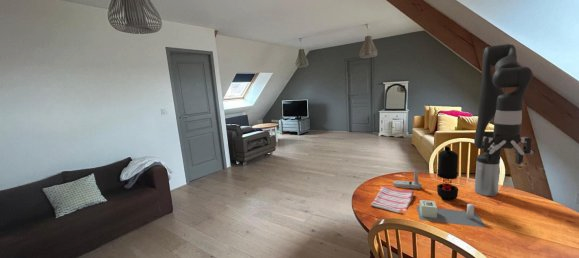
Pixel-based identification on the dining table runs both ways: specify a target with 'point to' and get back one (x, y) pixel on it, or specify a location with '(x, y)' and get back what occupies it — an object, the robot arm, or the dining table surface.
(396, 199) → the dish towel
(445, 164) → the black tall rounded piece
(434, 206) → the collar
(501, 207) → the dining table surface
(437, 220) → the board
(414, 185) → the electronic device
